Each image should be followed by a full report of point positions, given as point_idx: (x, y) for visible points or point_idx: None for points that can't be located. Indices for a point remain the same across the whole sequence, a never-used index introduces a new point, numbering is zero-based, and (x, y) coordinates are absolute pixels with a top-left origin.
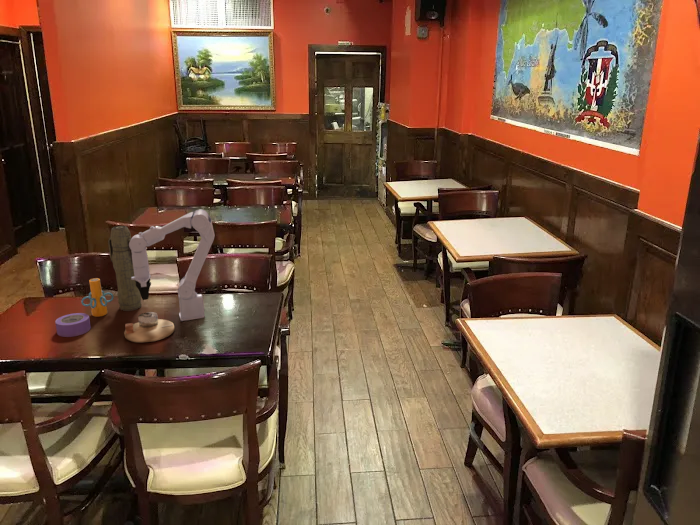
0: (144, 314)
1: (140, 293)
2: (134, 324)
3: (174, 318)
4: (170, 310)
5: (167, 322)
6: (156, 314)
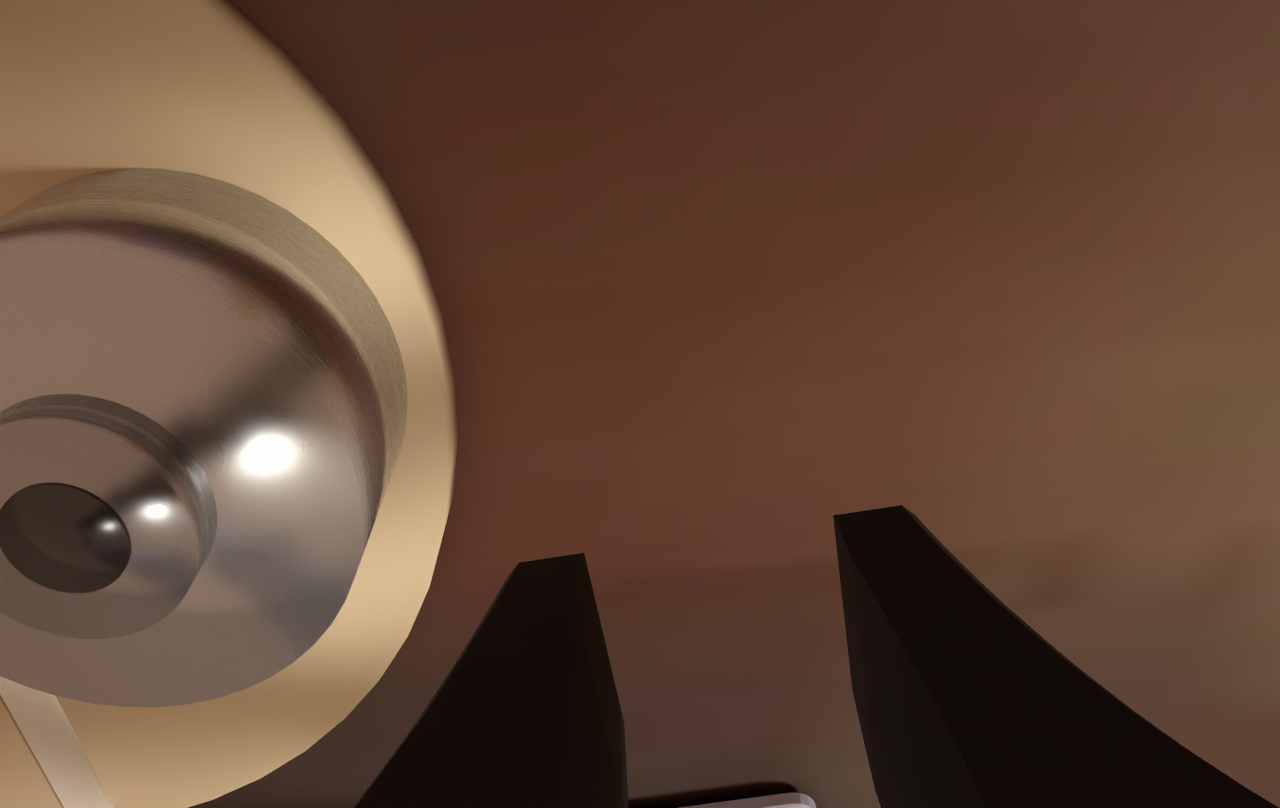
0: (8, 464)
1: (374, 785)
2: (167, 31)
3: (630, 730)
4: (1076, 640)
5: (240, 720)
6: (172, 690)
